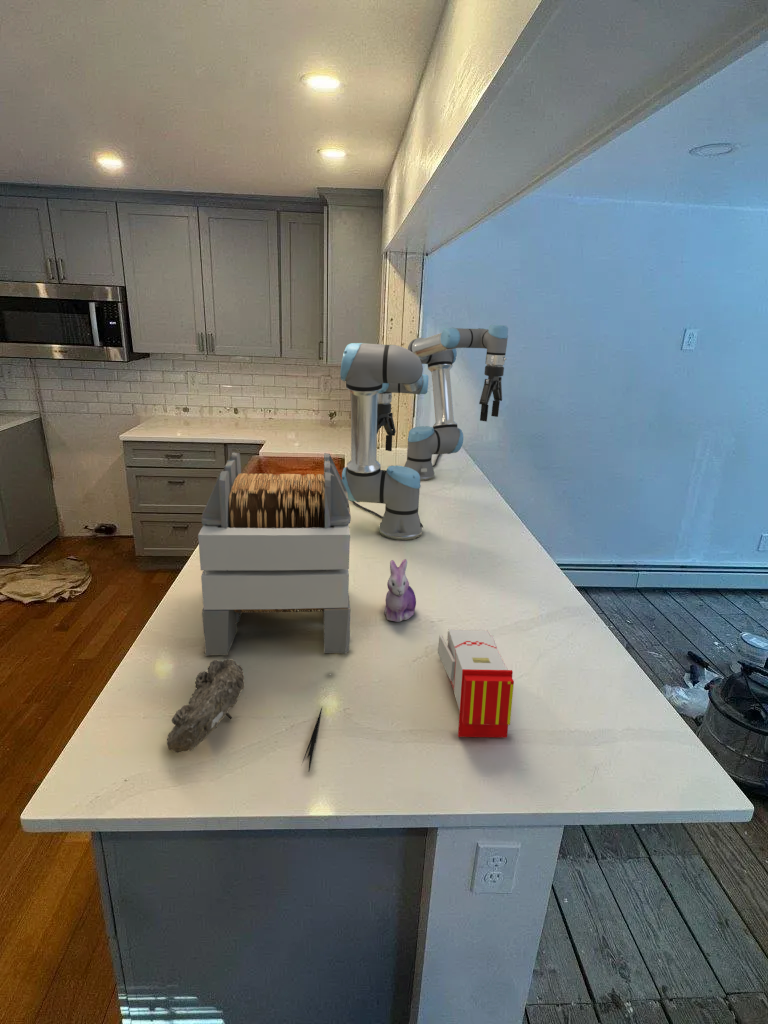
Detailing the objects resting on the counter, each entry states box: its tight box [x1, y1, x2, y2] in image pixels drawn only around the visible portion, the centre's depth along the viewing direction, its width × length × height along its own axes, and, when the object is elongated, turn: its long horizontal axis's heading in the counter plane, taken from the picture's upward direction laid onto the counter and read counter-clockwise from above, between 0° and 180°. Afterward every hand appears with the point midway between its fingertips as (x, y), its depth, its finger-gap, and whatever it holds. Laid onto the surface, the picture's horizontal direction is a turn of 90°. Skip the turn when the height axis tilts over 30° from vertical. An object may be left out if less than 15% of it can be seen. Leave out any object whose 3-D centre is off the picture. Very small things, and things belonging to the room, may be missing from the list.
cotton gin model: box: [197, 451, 352, 657], centre depth 136 cm, size 34×33×41 cm
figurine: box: [384, 558, 417, 623], centre depth 145 cm, size 9×10×15 cm
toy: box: [437, 628, 515, 738], centre depth 117 cm, size 12×13×30 cm
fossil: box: [166, 658, 245, 754], centre depth 106 cm, size 22×10×15 cm
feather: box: [301, 673, 332, 771], centre depth 108 cm, size 2×28×2 cm
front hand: (380, 454), depth 236 cm, fingers open, 13 cm apart
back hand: (489, 418), depth 233 cm, fingers open, 13 cm apart
